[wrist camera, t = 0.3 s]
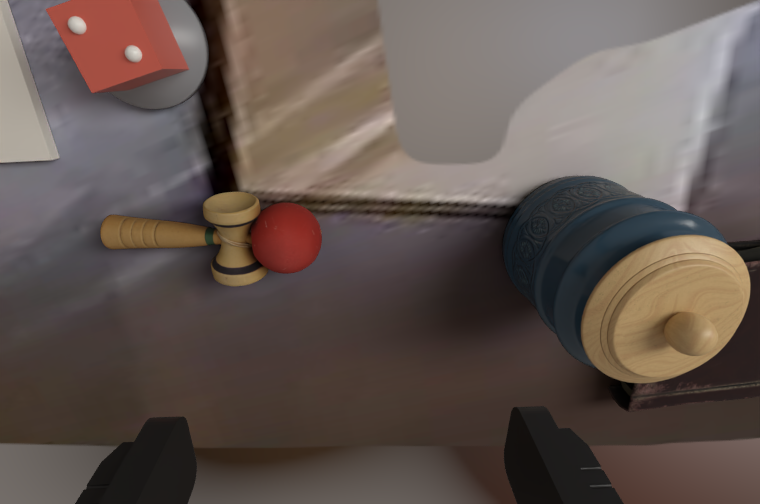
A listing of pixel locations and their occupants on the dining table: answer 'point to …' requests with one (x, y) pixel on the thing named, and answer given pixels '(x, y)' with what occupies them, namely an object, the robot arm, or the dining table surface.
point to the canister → (625, 278)
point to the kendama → (230, 236)
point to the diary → (711, 360)
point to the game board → (20, 101)
